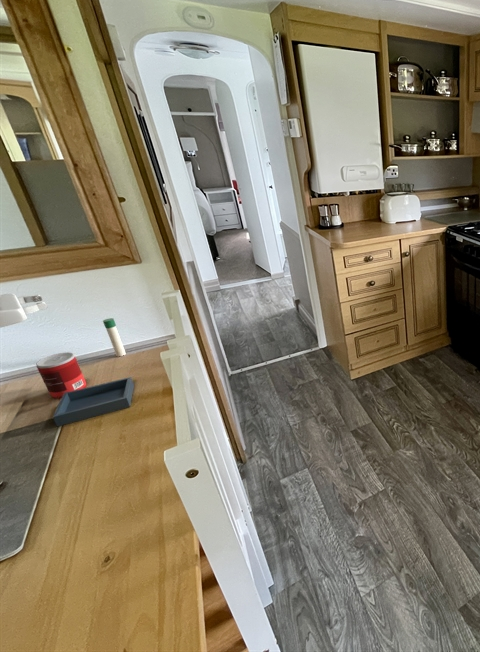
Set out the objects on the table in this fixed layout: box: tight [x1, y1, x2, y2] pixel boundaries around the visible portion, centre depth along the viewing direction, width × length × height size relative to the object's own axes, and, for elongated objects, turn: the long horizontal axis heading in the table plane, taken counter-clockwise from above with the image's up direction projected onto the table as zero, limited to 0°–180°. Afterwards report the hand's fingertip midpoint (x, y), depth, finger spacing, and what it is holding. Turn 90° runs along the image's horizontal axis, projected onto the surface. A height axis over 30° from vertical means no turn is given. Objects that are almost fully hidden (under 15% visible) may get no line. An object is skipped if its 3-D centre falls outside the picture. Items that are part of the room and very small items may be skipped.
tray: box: [52, 376, 135, 427], centre depth 106 cm, size 15×13×3 cm
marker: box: [102, 318, 127, 358], centre depth 129 cm, size 3×3×14 cm
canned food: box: [35, 352, 87, 399], centre depth 110 cm, size 8×8×11 cm
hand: (43, 301), depth 114 cm, fingers open, 8 cm apart
